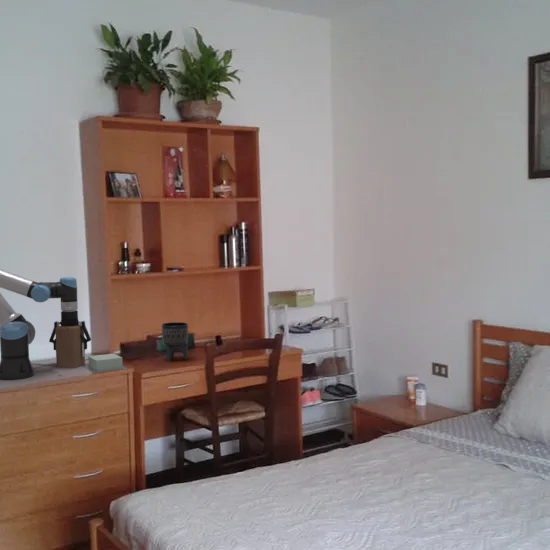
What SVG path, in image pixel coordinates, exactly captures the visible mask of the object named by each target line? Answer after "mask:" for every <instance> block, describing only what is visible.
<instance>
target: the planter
mask: <svg viewBox="0 0 550 550" xmlns="http://www.w3.org/2000/svg"><path fill="white" fill-rule="evenodd" d="M161 338H162V344H163V346H166V348H165V349H166V362H167V363H169V362H171V359H173V358H174V357H175V354H174V353H175V349H178V350H180V352H181V353H182V354H183V360H184V361H187V360H188V341H189V323H187V322H180V321H179V322H176V321H175V322H174V321H172V322H165V323H162V324H161Z"/></svg>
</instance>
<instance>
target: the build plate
mask: <svg viewBox="0 0 550 550" xmlns="http://www.w3.org/2000/svg"><path fill="white" fill-rule="evenodd" d="M122 366H123V368H122V369H114V370H115V371H120V370H121V371H122V370H129V368H128V367H125V366H124V365H122ZM83 369H86V370H88V371H89V372H91V373H93V374H96V373H97V374H98V373H105V372H113V371H112V370H106V371H98V372H97V371H95V370H93V369H91V368H90V367H89V365H88V366H83Z"/></svg>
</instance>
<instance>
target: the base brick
mask: <svg viewBox="0 0 550 550" xmlns="http://www.w3.org/2000/svg"><path fill="white" fill-rule="evenodd" d="M88 366H89V367H90V368H91V369H93V370H95V371H97V372H98V371H106V370H114V369H122V368H123V366H124V365H123V357H122V356H119V355H117V354H115V353H108V354H99V355H89V356H88Z"/></svg>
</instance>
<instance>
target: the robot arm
mask: <svg viewBox="0 0 550 550" xmlns="http://www.w3.org/2000/svg"><path fill="white" fill-rule="evenodd" d="M77 281H78V280H77V278H76V277H73V276H72V277H71V276H70V277H68V276H67V277H66V276H65V277H60V279H59V281H57V282H55V281H53V282H52V281H50V282H48V281H46V282H45V281H41V282H37V281H34V280H32V279H28V278H26V277H23V276H20V275H18V274H15V273H11V272H9V271H6V270H4V269H1V268H0V288H2V289H4V290H6V291H9V292H12V293H15V294H18V295H21V296H24V297H27V298H29V299H32V300H33V301H34V302H36V303H45V302H46V301H48V300H49V299H60V310H61V311H60V321H57V320H56V321H54V322H53V329H52V332H51V335H50V337H49V341H48V342H49V343H52V344H53V351H56V338H55V337H56V330H55V329H56V327H58V326H77V325H78V324H80V325H81V326H82V329H83V331H84V335H83V334H81V333H80V338H81V339H82V341H83V343H82V356H83V357H85V358H86V350H87V349H88V342H91V340H92V339H91V336H90V334H89V330H88V329H87V327H86V321H85V320H82V321H79V311H78V307H79V306H78V284H77V283H78V282H77ZM35 337H36V328H35V326H34V324H32V322H30V321H28V320H27V319H26V318H25V317H24V315H23V314H22V313H18V312H16V311H15V310H14V308H13V306H11V305H10V303H9V302H8V301H7V300H6V298H5V297H4V296H3V295H2V293H1V292H0V380H21V379H25V378H26V379H27V378H30V377H33V376H34V374H35V372H34V368H33V365H32V362H31V359H30V353H29V351H30V350H29V346H30V345H31V344H32V342H33V341H34V339H35Z"/></svg>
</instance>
